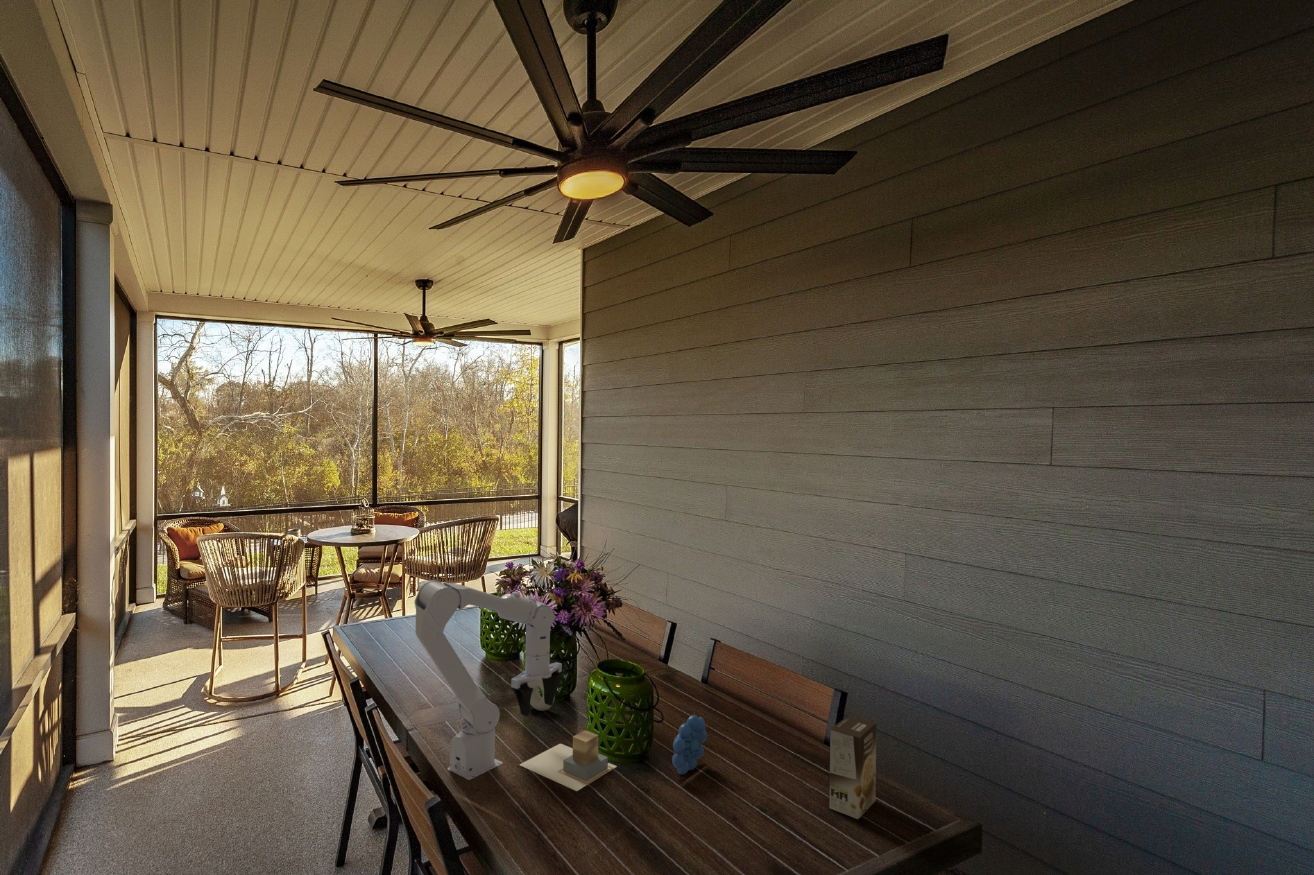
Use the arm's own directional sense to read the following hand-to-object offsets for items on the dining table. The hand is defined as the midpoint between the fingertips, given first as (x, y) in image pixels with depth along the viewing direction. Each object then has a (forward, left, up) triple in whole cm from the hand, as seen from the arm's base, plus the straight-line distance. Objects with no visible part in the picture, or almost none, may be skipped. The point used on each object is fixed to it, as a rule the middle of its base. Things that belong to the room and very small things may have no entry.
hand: (537, 709), depth 153 cm
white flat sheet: (-2, -13, -9) cm, 16 cm away
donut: (+16, +16, -10) cm, 25 cm away
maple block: (-1, -17, -6) cm, 18 cm away
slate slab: (-1, -17, -9) cm, 19 cm away
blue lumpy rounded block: (+14, -34, -10) cm, 38 cm away
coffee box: (+23, -69, -10) cm, 73 cm away
